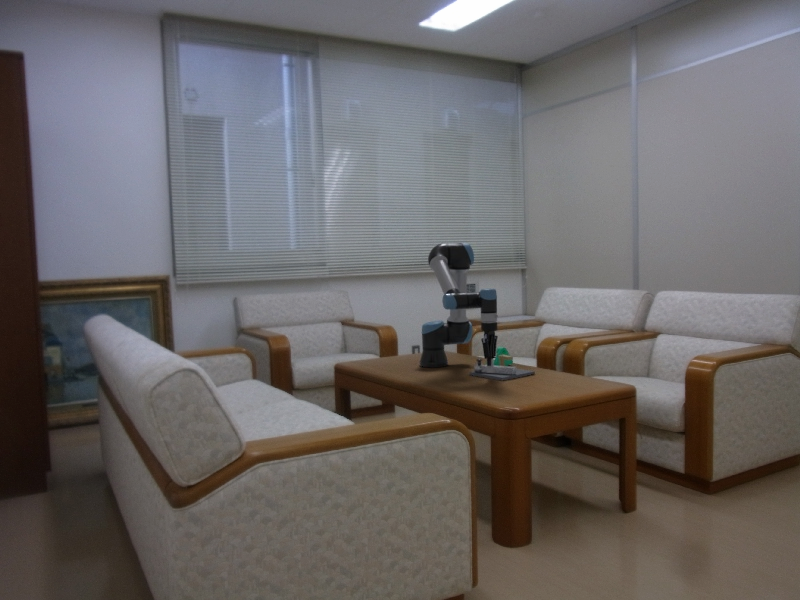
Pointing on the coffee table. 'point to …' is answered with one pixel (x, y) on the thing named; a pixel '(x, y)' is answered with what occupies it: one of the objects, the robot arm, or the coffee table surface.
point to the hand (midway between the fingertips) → (490, 372)
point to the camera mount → (502, 352)
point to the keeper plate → (503, 376)
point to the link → (497, 369)
